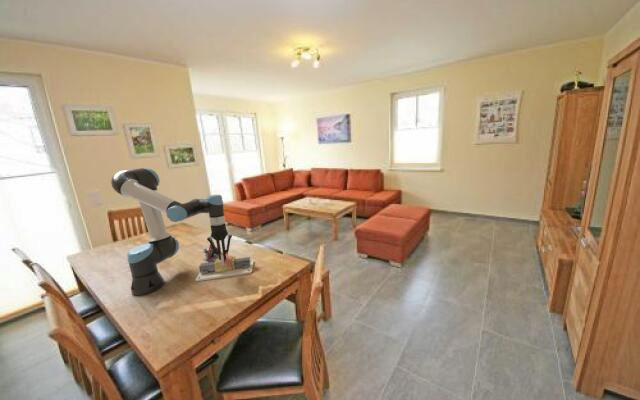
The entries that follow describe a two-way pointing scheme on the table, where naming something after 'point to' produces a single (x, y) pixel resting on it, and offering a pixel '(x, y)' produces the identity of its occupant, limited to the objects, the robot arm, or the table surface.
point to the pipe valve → (218, 267)
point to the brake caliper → (210, 255)
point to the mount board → (225, 273)
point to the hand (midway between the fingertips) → (223, 264)
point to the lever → (227, 260)
